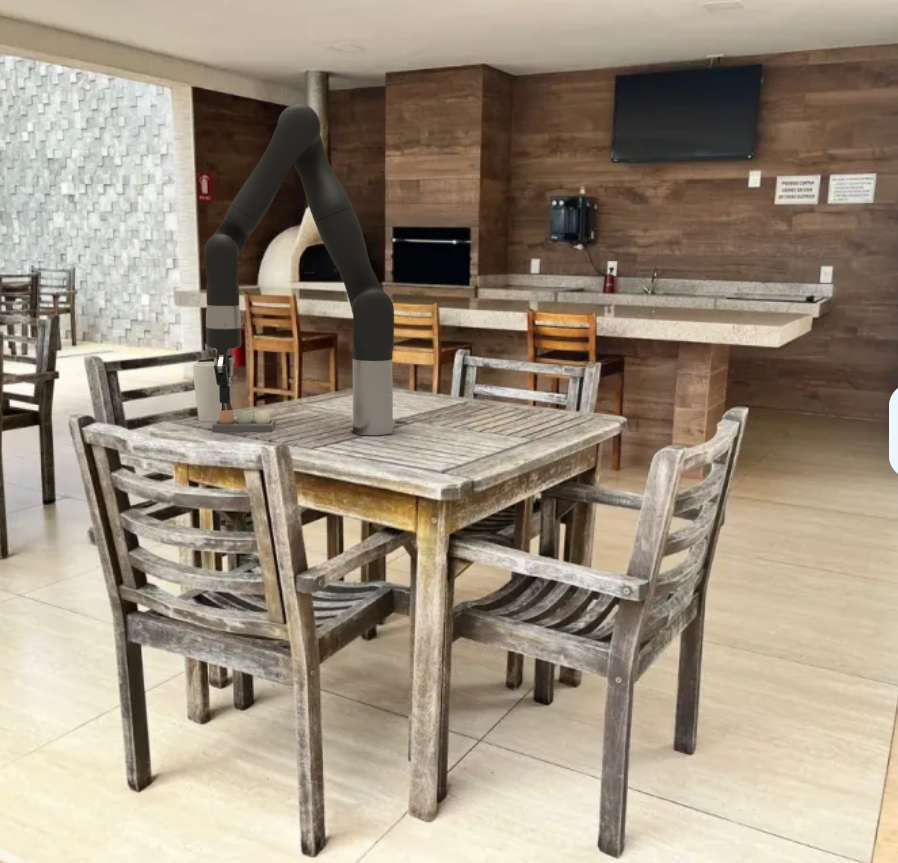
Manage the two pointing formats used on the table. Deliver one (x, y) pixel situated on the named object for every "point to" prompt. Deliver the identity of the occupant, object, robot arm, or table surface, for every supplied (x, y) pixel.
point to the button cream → (262, 417)
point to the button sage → (244, 417)
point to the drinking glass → (206, 391)
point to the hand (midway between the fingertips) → (225, 402)
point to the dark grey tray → (244, 427)
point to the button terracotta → (226, 417)
